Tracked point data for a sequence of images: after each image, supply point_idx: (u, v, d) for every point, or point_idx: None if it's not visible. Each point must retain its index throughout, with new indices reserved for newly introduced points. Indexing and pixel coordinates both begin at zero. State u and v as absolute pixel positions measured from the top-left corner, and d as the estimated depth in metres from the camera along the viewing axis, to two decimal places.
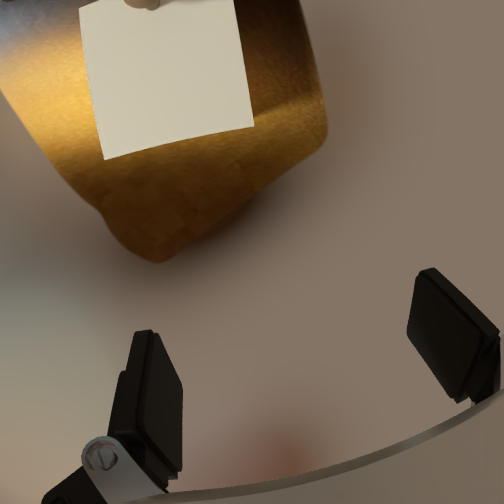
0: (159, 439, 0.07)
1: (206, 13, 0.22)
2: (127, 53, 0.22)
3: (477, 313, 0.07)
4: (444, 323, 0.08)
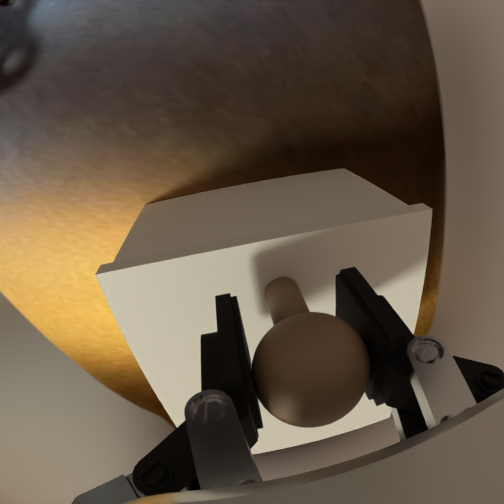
0: (254, 390, 0.08)
1: None
2: None
3: (386, 314, 0.08)
4: (356, 323, 0.09)
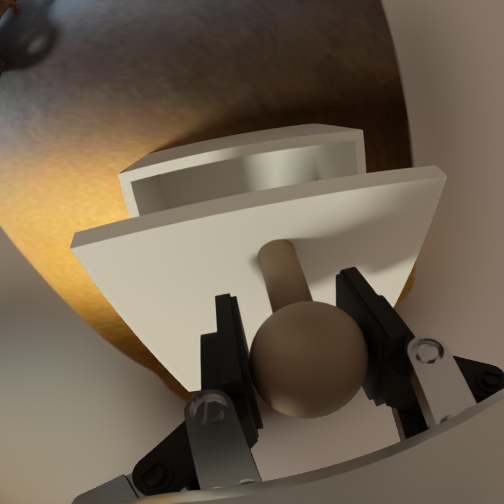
0: (254, 391, 0.08)
1: (375, 264, 0.14)
2: None
3: (386, 314, 0.08)
4: (357, 322, 0.09)
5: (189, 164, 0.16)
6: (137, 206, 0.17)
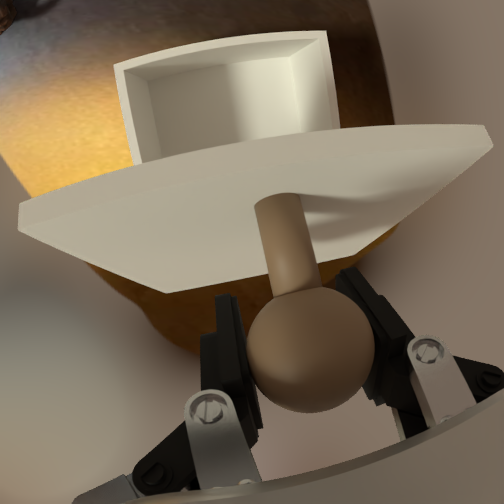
0: (254, 391, 0.08)
1: (384, 205, 0.12)
2: (201, 254, 0.14)
3: (386, 314, 0.08)
4: None
5: (174, 54, 0.16)
6: (127, 91, 0.17)
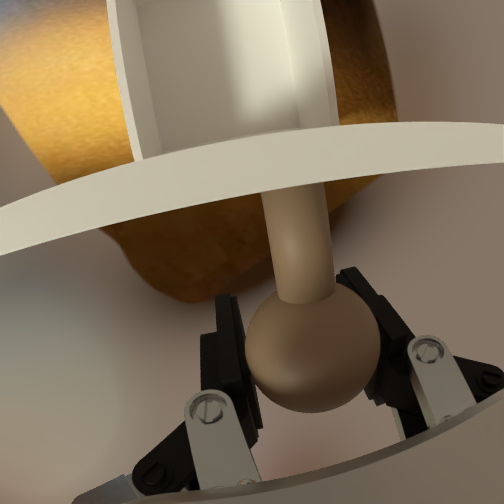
0: (253, 391, 0.08)
1: None
2: None
3: (386, 314, 0.08)
4: None
5: None
6: None
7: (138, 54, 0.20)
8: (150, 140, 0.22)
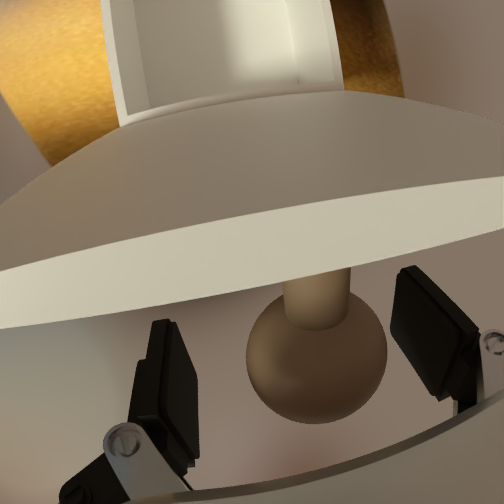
0: (180, 425, 0.07)
1: None
2: None
3: (456, 310, 0.08)
4: (424, 320, 0.09)
5: None
6: None
7: (128, 10, 0.17)
8: (136, 93, 0.19)
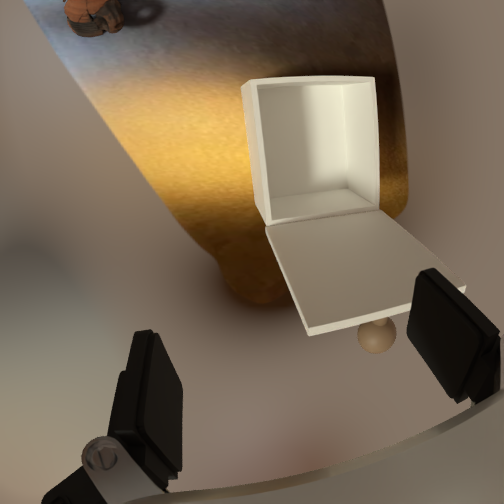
0: (159, 439, 0.07)
1: None
2: None
3: (477, 313, 0.07)
4: (444, 323, 0.08)
5: (289, 80, 0.28)
6: (257, 98, 0.29)
7: None
8: None
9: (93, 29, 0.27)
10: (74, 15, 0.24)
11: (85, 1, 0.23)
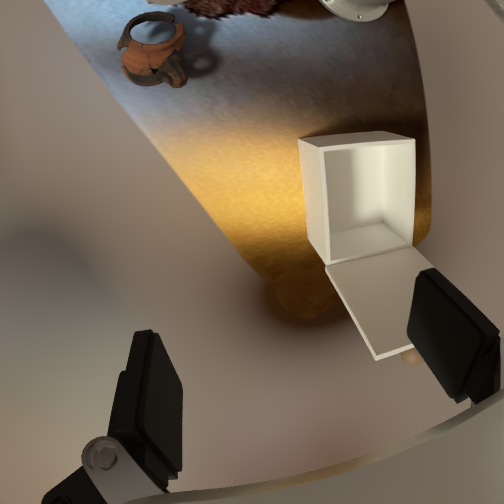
0: (159, 439, 0.07)
1: None
2: None
3: (477, 313, 0.07)
4: (444, 323, 0.08)
5: (349, 147, 0.35)
6: (324, 163, 0.36)
7: None
8: None
9: (153, 80, 0.34)
10: (134, 68, 0.31)
11: (147, 55, 0.30)
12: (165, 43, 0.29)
